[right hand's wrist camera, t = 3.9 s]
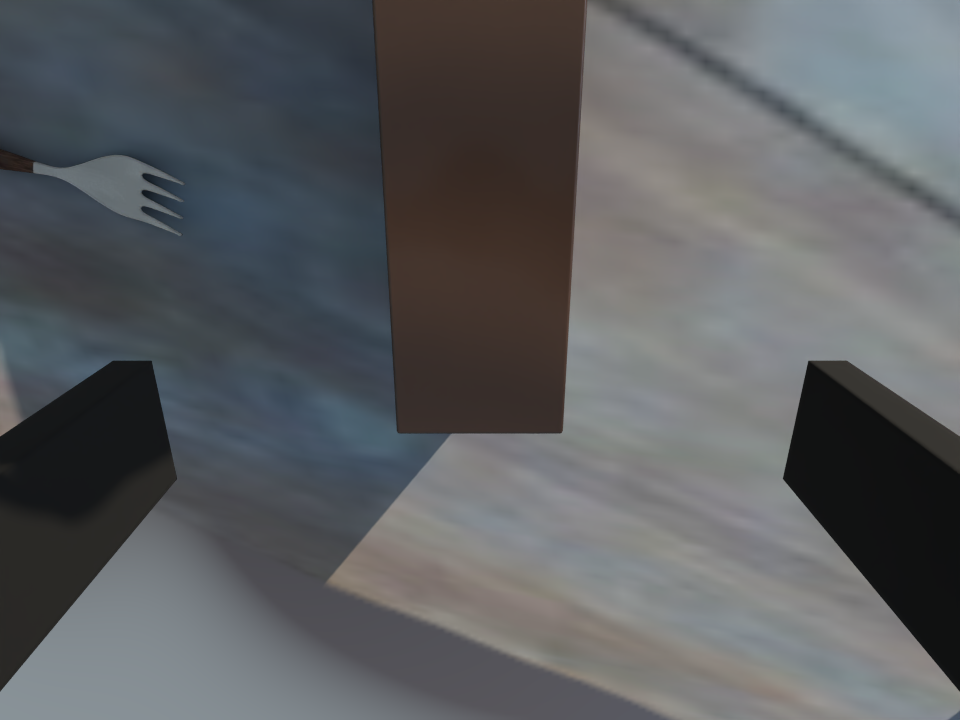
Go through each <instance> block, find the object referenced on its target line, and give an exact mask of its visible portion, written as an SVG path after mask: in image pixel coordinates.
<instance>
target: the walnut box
mask: <svg viewBox="0 0 960 720" xmlns="http://www.w3.org/2000/svg"><path fill="white" fill-rule="evenodd" d="M372 3H373V21H374V38H375V55H376V73H377V90H378V108H379V125H380V143H381V160H382V178H383V195H384V213H385V230H386V248H387V265H388V283H389V300H390V318H391V335H392V352H393V370H394V387H395V405H396V422H397V432H398V433H562V431H563V417H564V399H565V382H566V364H567V347H568V329H569V312H570V294H571V277H572V259H573V242H574V224H575V206H576V189H577V171H578V154H579V136H580V119H581V101H582V84H583V66H584V49H585V31H586V14H587V0H372Z"/></svg>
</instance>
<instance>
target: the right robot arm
mask: <svg viewBox="0 0 960 720" xmlns="http://www.w3.org/2000/svg"><path fill="white" fill-rule="evenodd" d="M176 479H177V476H176V472H175V467H174V463H173V458H172V453H171V449H170V444H169V439H168V435H167V430H166V426H165V421H164V416H163V412H162V407H161V402H160V398H159V393H158V388H157V384H156V379H155V375H154V370H153V365H152V361H112V362H111V363H109V364H108V365H106V366H105V367H103V368H102V369H100V370H99V371H97V372H96V373H94V374H93V375H91V376H90V377H88V378H87V379H85V380H84V381H82V382H81V383H79V384H78V385H76V386H75V387H73V388H72V389H70V390H69V391H67V392H66V393H64V394H63V395H62V396H60V397H59V398H57V399H56V400H54V401H53V402H51V403H50V404H48V405H47V406H45V407H44V408H42V409H41V410H39V411H38V412H36V413H35V414H33V415H32V416H30V417H29V418H27V419H26V420H24V421H23V422H21V423H20V424H18V425H17V426H15V427H14V428H12V429H11V430H9V431H8V432H6V433H5V434H3V435H2V436H0V691H1V690H2V689H3V687H4V686H5V685H6V684H7V683H8V681H9V680H10V679H11V678H12V677H13V675H14V674H15V673H16V672H17V671H18V669H19V668H20V667H21V666H22V665H23V663H24V662H25V661H26V660H27V659H28V657H29V656H30V655H31V654H32V653H33V651H34V650H35V649H36V648H37V647H38V645H39V644H40V643H41V642H42V641H43V639H44V638H45V637H46V636H47V635H48V633H49V632H50V631H51V630H52V629H53V627H54V626H55V625H56V624H57V623H58V621H59V620H60V619H61V618H62V617H63V615H64V614H65V613H66V612H67V611H68V609H69V608H70V607H71V606H72V605H73V603H74V602H75V601H76V600H77V598H78V597H79V596H80V595H81V594H82V593H83V591H84V590H85V589H86V588H87V586H88V585H89V584H90V583H91V582H92V580H93V579H94V578H95V577H96V576H97V574H98V573H99V572H100V571H101V570H102V568H103V567H104V566H105V565H106V564H107V562H108V561H109V560H110V559H111V558H112V556H113V555H114V554H115V553H116V552H117V550H118V549H119V548H120V547H121V546H122V544H123V543H124V542H125V541H126V540H127V538H128V537H129V536H130V535H131V534H132V532H133V531H134V530H135V529H136V528H137V526H138V525H139V524H140V523H141V522H142V520H143V519H144V518H145V517H146V516H147V514H148V513H149V512H150V511H151V510H152V508H153V507H154V506H155V505H156V504H157V502H158V501H159V500H160V499H161V498H162V496H163V495H164V494H165V493H166V492H167V490H168V489H169V488H170V487H171V486H172V484H173V483H174V482H175V481H176ZM783 479H784V481H785V482H786V483H787V484H788V486H789V487H790V488H791V489H792V490H793V492H794V493H795V494H796V495H797V496H798V498H799V499H800V500H801V501H802V502H803V504H804V505H805V506H806V507H807V508H808V510H809V511H810V512H811V513H812V514H813V516H814V517H815V518H816V519H817V520H818V522H819V523H820V524H821V525H822V526H823V528H824V529H825V530H826V531H827V532H828V534H829V535H830V536H831V537H832V538H833V540H834V541H835V542H836V543H837V544H838V546H839V547H840V548H841V549H842V550H843V552H844V553H845V554H846V555H847V556H848V558H849V559H850V560H851V561H852V562H853V564H854V565H855V566H856V567H857V568H858V570H859V571H860V572H861V573H862V574H863V576H864V577H865V578H866V579H867V580H868V582H869V583H870V584H871V585H872V587H873V588H874V589H875V590H876V591H877V593H878V594H879V595H880V596H881V597H882V599H883V600H884V601H885V602H886V603H887V605H888V606H889V607H890V608H891V609H892V611H893V612H894V613H895V614H896V615H897V617H898V618H899V619H900V620H901V621H902V623H903V624H904V625H905V626H906V627H907V629H908V630H909V631H910V632H911V633H912V635H913V636H914V637H915V638H916V639H917V641H918V642H919V643H920V644H921V645H922V647H923V648H924V649H925V650H926V651H927V653H928V654H929V655H930V656H931V657H932V659H933V660H934V661H935V662H936V663H937V665H938V666H939V667H940V668H941V669H942V671H943V672H944V673H945V674H946V675H947V677H948V678H949V679H950V680H951V681H952V683H953V684H954V685H955V686H956V687H957V689H958V690H959V691H960V436H958V435H957V434H955V433H954V432H952V431H951V430H949V429H948V428H946V427H945V426H943V425H942V424H940V423H939V422H937V421H936V420H934V419H933V418H931V417H930V416H928V415H927V414H925V413H924V412H922V411H921V410H919V409H918V408H916V407H915V406H913V405H912V404H910V403H909V402H907V401H906V400H904V399H903V398H901V397H900V396H898V395H897V394H896V393H894V392H893V391H891V390H890V389H888V388H887V387H885V386H884V385H882V384H881V383H879V382H878V381H876V380H875V379H873V378H872V377H870V376H869V375H867V374H866V373H864V372H863V371H861V370H860V369H858V368H857V367H855V366H854V365H852V364H851V363H849V362H848V361H808V365H807V370H806V375H805V379H804V384H803V388H802V393H801V398H800V402H799V407H798V412H797V416H796V421H795V425H794V430H793V435H792V439H791V444H790V449H789V453H788V458H787V463H786V467H785V472H784V476H783Z"/></svg>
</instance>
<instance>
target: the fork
mask: <svg viewBox="0 0 960 720" xmlns="http://www.w3.org/2000/svg"><path fill="white" fill-rule="evenodd" d="M0 169H4V170H13V171H21V172H29V173H37V174H43V175H49V176H54V177H57V178H60V179H63V180H65V181H67V182H69V183H70V184H72V185H74V186H75V187H77V188H79V189H80V190H82V191H83V192H85V193H86V194H87V195H89V196H90V197H92V198H93V199H95V200H96V201H98V202H99V203H101V204H102V205H104V206H105V207H107V208H109V209H110V210H112V211H114V212H116V213H118V214H120V215H123V216H126V217H129V218H132V219H136V220H140V221H143V222H146V223H149V224H152V225H154V226H157V227H160V228H162V229H165V230H167V231H170V232H172V233H175V234H177V235H179V236H182V233H180V232H178V231H176V230H175V229H173V228H171V227H169V226H168V225H166V224H164V223H162V222H161V221H159V220H157V219H155V218H153V217H151V216H149V215H147V214H146V213H144V212H143V211H142V209H141V207H142V206H146V207H150V208H153V209H155V210H158V211H161V212H164V213H166V214H169V215H172V216H175V217H177V218H180V219H183V217H181V216H180V215H178V214H176V213H175V212H173V211H171V210H169V209H167V208H165V207H164V206H162V205H160V204H158V203H156V202H154V201H152V200H150V199H148V198H146V197H145V196H144V195H143V194H142V190H148V191H152V192H154V193H157V194H160V195H163V196H166V197H169V198H172V199H175V200H178V201H180V202H184V200H182V199H180V198H179V197H177V196H175V195H173V194H171V193H169V192H168V191H166V190H164V189H162V188H160V187H158V186H156V185H154V184H152V183H150V182H148V181H146V180H145V179H144V178H143V176H142V174H143V173H148V174H151V175H155V176H158V177H161V178H164V179H167V180H170V181H173V182H176V183H179V184H181V185H185V183H184V182H182V181H180V180H178V179H176V178H174V177H172V176H170V175H168V174H166V173H164V172H162V171H160V170H158V169H156V168H154V167H152V166H150V165H147V164H145V163H143V162H141V161H139V160H136V159H134V158H131V157H128V156H124V155H110V156H105V157H100V158H97V159H94V160H91V161H88V162H85V163H82V164H79V165H76V166H72V167H67V168H58V167H53V166H49V165H46V164H42V163H39V162H36V161H33V160H30V159H27V158H25V157H22V156H19V155H16V154H13V153H10V152H7V151H4V150H2V149H0Z"/></svg>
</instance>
